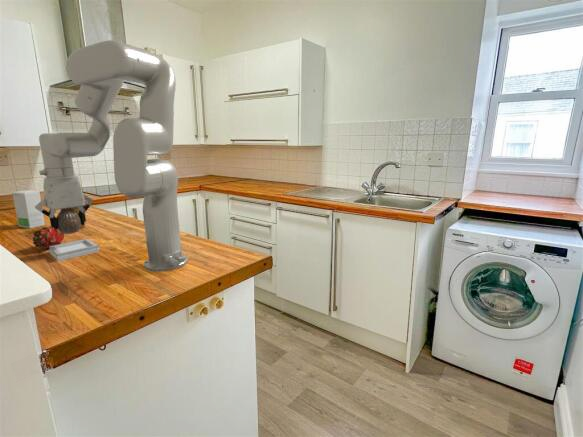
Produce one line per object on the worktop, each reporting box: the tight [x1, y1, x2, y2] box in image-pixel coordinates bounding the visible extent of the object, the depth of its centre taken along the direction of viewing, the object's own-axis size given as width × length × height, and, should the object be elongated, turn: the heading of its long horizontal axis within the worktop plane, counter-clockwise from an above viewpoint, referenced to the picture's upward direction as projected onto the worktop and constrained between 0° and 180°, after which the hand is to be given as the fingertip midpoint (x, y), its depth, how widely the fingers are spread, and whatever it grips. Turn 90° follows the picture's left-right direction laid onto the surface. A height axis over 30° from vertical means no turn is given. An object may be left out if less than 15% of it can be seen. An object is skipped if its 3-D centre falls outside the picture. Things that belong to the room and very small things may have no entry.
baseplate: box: [48, 238, 101, 262], centre depth 109 cm, size 12×12×2 cm
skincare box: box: [12, 189, 46, 229], centre depth 142 cm, size 8×7×16 cm
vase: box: [55, 208, 81, 235], centre depth 107 cm, size 7×7×9 cm
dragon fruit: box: [32, 225, 65, 251], centre depth 114 cm, size 8×8×12 cm
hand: (69, 226), depth 107 cm, fingers closed on vase, 7 cm apart
